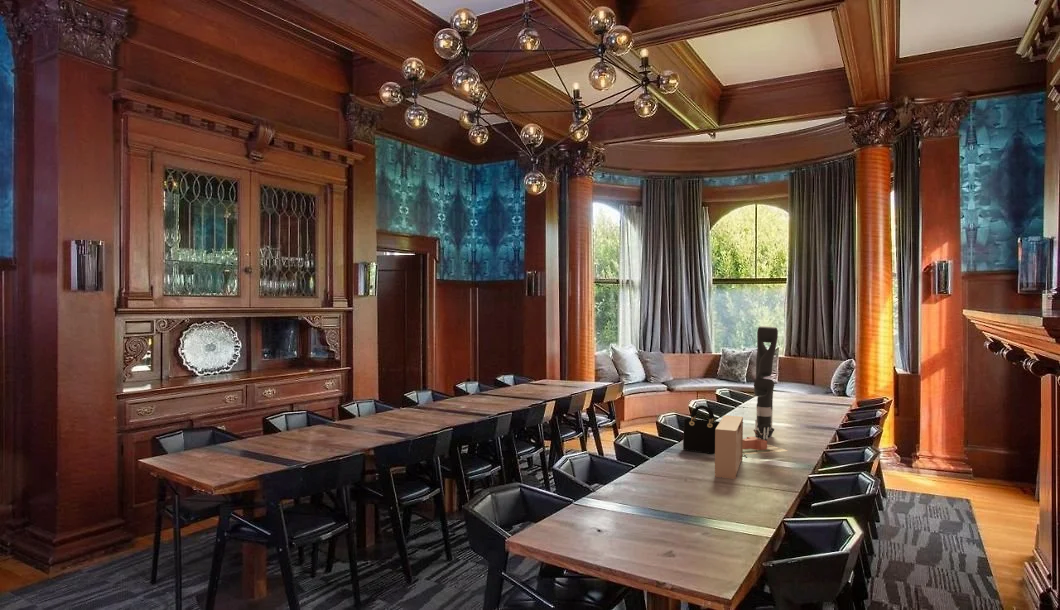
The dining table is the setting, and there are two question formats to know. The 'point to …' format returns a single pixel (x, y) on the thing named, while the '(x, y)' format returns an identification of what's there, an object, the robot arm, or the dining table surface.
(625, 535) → the dining table surface
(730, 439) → the box
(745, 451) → the board
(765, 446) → the t block
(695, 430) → the handbag
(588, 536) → the dining table surface
